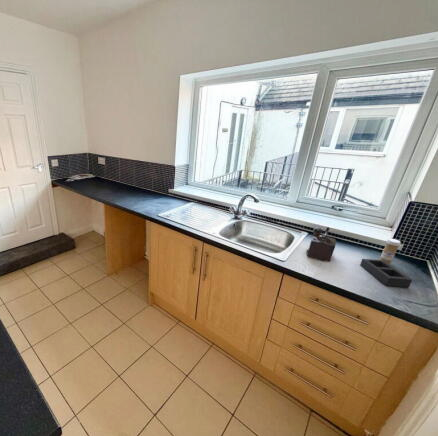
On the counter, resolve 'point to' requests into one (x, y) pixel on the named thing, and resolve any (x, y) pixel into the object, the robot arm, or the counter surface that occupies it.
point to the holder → (385, 273)
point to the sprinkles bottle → (389, 250)
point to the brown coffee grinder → (321, 245)
